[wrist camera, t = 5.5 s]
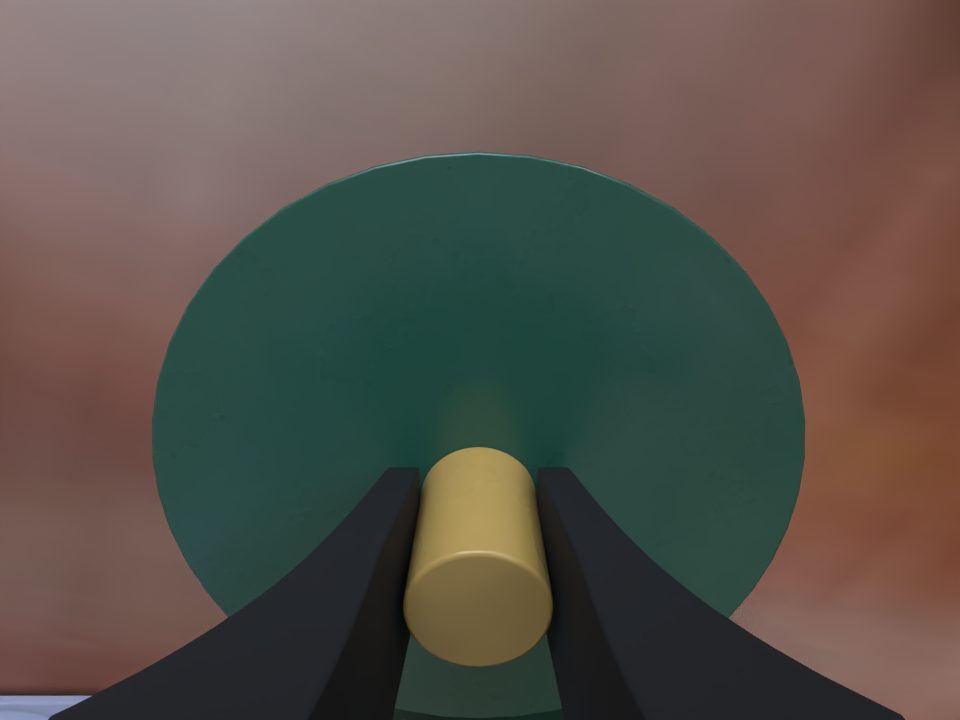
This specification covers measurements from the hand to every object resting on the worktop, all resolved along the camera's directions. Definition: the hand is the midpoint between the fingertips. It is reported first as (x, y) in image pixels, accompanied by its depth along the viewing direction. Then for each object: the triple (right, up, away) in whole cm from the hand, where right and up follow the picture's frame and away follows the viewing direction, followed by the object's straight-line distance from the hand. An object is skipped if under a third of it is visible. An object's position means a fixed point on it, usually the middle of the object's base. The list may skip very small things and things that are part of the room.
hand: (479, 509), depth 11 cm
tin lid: (0, 0, +1) cm, 1 cm away
